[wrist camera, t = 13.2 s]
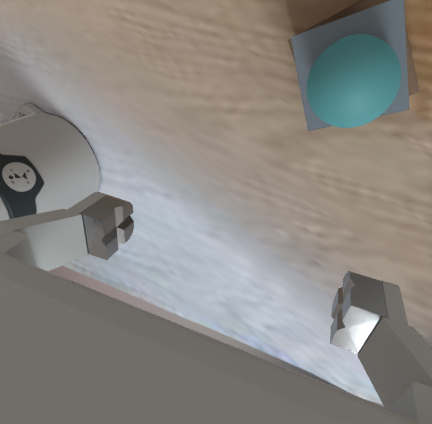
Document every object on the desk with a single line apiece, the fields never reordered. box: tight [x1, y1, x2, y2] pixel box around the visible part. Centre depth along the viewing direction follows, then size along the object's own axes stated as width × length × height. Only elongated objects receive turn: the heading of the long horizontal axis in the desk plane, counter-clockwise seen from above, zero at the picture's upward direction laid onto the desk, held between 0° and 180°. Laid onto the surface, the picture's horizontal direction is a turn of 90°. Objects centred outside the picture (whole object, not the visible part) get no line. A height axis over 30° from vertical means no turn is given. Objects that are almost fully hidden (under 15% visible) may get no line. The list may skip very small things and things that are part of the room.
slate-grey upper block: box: [291, 0, 409, 131], centre depth 23 cm, size 7×7×4 cm
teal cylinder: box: [307, 34, 401, 128], centre depth 19 cm, size 5×5×5 cm
